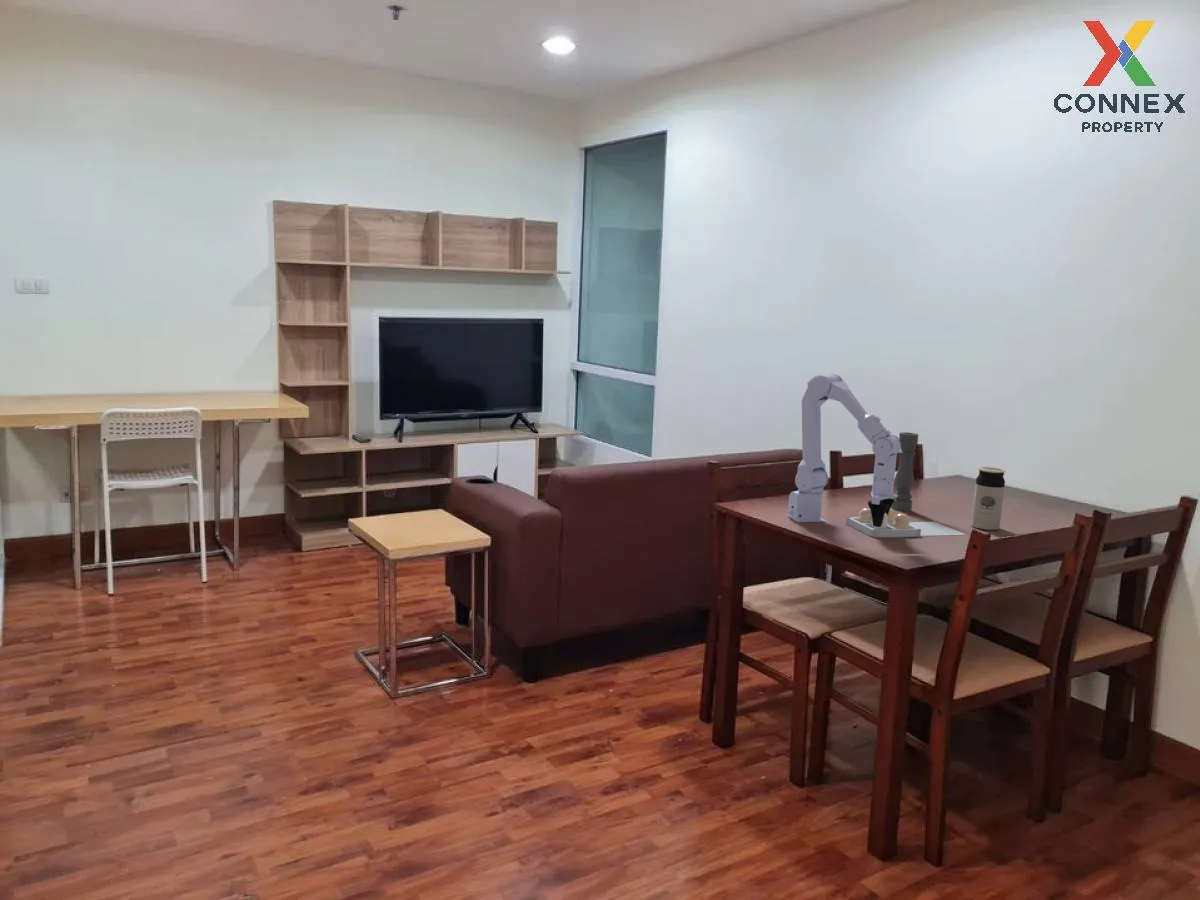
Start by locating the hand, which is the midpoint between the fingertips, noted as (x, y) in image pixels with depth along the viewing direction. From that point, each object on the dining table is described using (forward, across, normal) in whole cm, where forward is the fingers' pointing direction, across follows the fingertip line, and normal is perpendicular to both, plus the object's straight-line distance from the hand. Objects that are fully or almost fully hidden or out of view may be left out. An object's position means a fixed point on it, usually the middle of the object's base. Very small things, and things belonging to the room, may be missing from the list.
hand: (879, 524), depth 257 cm
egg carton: (+3, +10, -5) cm, 12 cm away
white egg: (+2, 0, 0) cm, 2 cm away
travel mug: (+3, +32, -24) cm, 40 cm away
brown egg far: (+2, +10, 0) cm, 10 cm away
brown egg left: (+2, +5, +5) cm, 7 cm away
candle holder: (+3, +38, +2) cm, 38 cm away
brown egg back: (+2, +5, -5) cm, 7 cm away
